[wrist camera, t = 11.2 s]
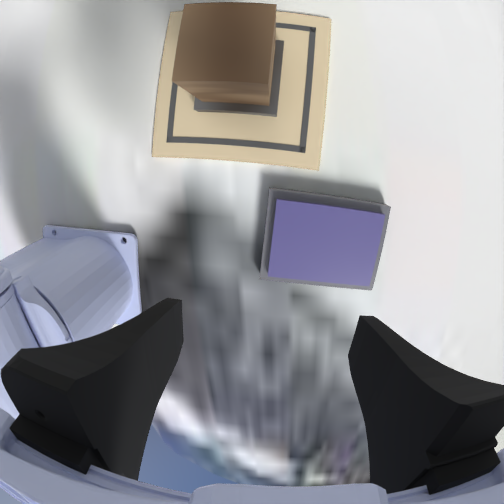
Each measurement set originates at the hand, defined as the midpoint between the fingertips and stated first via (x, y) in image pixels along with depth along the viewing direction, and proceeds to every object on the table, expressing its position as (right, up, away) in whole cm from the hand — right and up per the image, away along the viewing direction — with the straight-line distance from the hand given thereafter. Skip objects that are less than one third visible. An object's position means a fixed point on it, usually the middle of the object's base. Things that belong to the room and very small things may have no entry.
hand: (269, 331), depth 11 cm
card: (-1, +14, +5) cm, 15 cm away
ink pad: (+4, +4, +8) cm, 10 cm away
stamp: (-1, +14, +5) cm, 15 cm away
